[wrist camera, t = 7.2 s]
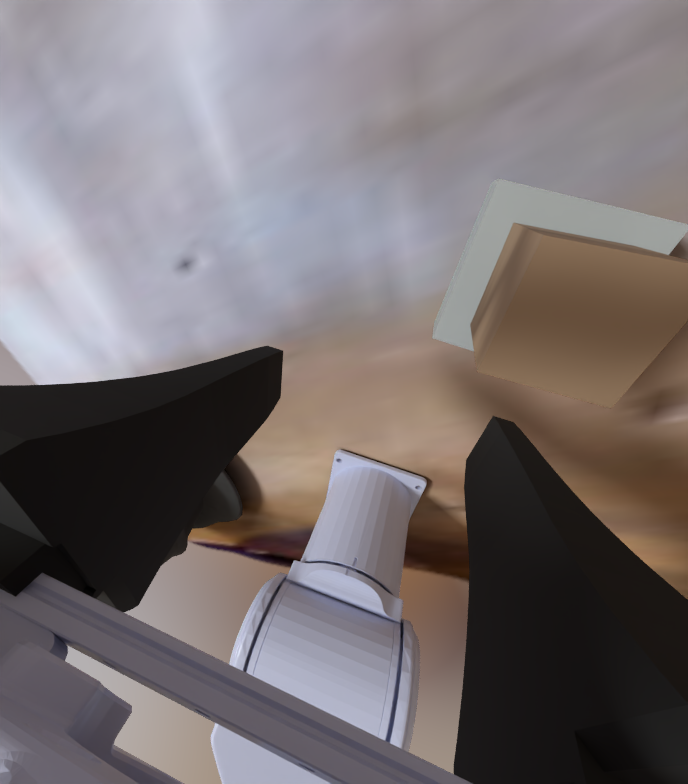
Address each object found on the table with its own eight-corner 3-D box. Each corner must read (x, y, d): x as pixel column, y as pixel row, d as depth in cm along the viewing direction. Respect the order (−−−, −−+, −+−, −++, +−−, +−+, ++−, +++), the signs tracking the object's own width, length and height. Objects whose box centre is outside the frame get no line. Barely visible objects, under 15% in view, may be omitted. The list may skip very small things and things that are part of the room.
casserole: (134, 504, 46) (79, 557, 39) (52, 403, 37) (-38, 449, 30) (273, 527, 37) (233, 600, 30) (209, 401, 28) (132, 466, 21)
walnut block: (565, 348, 14) (610, 408, 10) (470, 324, 15) (476, 372, 11) (633, 245, 11) (731, 271, 7) (513, 222, 12) (543, 234, 8)
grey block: (552, 356, 17) (568, 381, 15) (434, 319, 18) (432, 338, 16) (648, 220, 13) (692, 225, 11) (491, 182, 14) (498, 178, 12)
